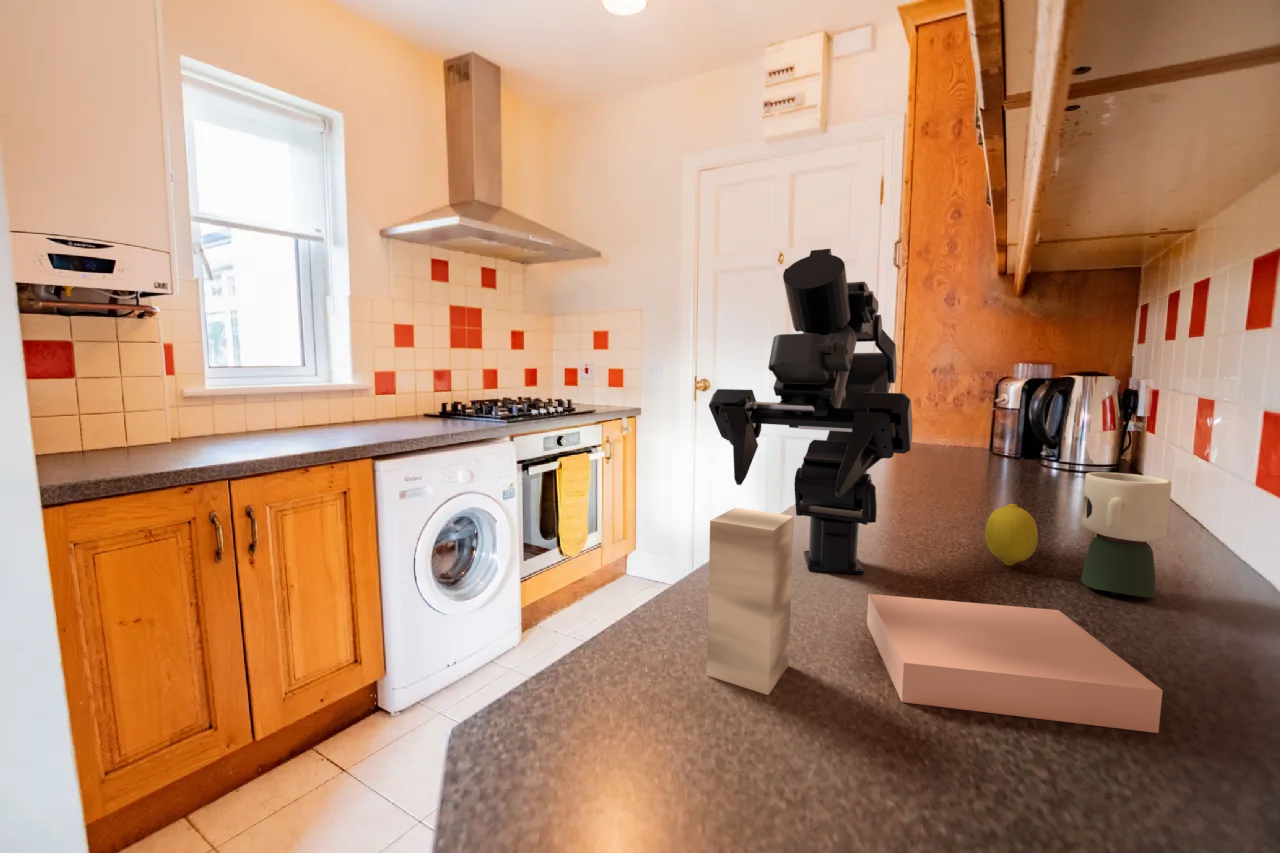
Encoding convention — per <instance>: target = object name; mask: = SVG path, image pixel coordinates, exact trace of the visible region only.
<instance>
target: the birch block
mask: <svg viewBox="0 0 1280 853" xmlns="http://www.w3.org/2000/svg"><path fill="white" fill-rule="evenodd" d="M794 518H795V516H794V515H788V514H782V513H775V512H769V511H761V510H754V509H748V508H746V509H745V508H740V507H733V508H731V509H729V510H727V511H726V512H724V513H722V514H720V515H718V516H716V517H715V518H712V519H710V520H709V550H708V551H709V554H708V555H709V556H708V558H709V560H708V561H709V562H708V599H707V600H708V601H707V602H708V604H707V606H708V607H707V608H708V610H707V611H708V612H707V651H706V652H707V653H706V654H707V655H706V659H707V660H706V676H707V677H711V678H714V679H717V680H720V681H723V682H725V683H729V684H733V685H736V686H738V687H742V688H745V689H748V690H751V691H754V692H757V693H761V694H763V695H766V696H767V695H768V696H769V695H770V693H771V692H772V691H773V689H774V687H775V686H776V685H777V683H778V681H779V680H780V679H781V678H782V676H783V674H784V673H785V672H786V670H787V668H788V667H789V663H790V662H789V661H790V660H789V658H790V637H791V636H790V635H791V634H790V632H791V631H790V630H791V629H790V628H791V605H792V604H791V602H792V580H793V579H792V577H793V576H792V574H793V548H794V547H793V545H794V544H793V542H794V540H793V539H794V521H795V520H794Z"/></svg>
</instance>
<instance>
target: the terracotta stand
mask: <svg viewBox="0 0 1280 853" xmlns="http://www.w3.org/2000/svg"><path fill="white" fill-rule="evenodd" d="M867 596H868V597H867V618H866V619H867V620H866V626H867V628H868V630H869V632H870V635H871V637H872V639H873V641H874V643H875V646H876V647H877V650H878V653H879V655H880V657H881V659H882V661H883V664H884V666H885V668H886V671H887V673H888V675H889V678H890V680H891V682H892V683H893V686H894V688H895V690H896V692H897V695H898V697H899V699H900V701H901V703H907V704H915V705H924V706H931V707H940V708H949V709H956V710H966V711H972V712H981V713H990V714H996V715H1007V716H1012V717H1013V716H1016V717H1022V718H1029V719H1030V718H1031V719H1032V718H1033V719H1039V720H1046V721H1047V720H1048V721H1054V722H1055V721H1056V722H1065V723H1071V724H1072V723H1074V724H1081V725H1090V726H1098V727H1105V728H1115V729H1123V730H1130V731H1138V732H1139V731H1140V732H1148V733H1156V734H1159V732H1160V731H1159V730H1160V718H1161V708H1162V701H1163V700H1162V699H1163V691H1164V690H1163V689H1161V687H1159V686H1158V685H1156V684H1155V683H1153V682H1152V681H1151V680H1150V679H1148V678H1147V677H1146V676H1145V675H1143V674H1142V673H1141V672H1139V671H1138V670H1137V669H1135V667H1133V666H1131V665H1130V664H1129V663H1128V662H1127V661H1125V660H1124V659H1122V657H1120V656H1119V655H1117V654H1116V653H1115V652H1113V651H1112V650H1111V649H1110V648H1108V647H1107V646H1106V645H1104V644H1103V643H1102V642H1101V641H1099V640H1098V639H1096V638H1095V637H1094V636H1093V635H1092V634H1091V633H1089V632H1087V631H1086V630H1085V629H1083V627H1081V626H1080V625H1078V624H1077V623H1076V622H1074V621H1073V620H1072V619H1071V618H1070V617H1068V616H1067V615H1065V614H1064V613H1063V612H1061V610H1059V609H1049V608H1038V607H1037V608H1036V607H1027V606H1025V607H1024V606H1015V605H1014V606H1013V605H1002V604H992V603H977V602H966V601H955V600H943V599H931V598H919V597H918V598H917V597H908V596H907V597H906V596H896V595H886V594H885V595H884V594H873V593H868V595H867Z"/></svg>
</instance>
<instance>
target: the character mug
mask: <svg viewBox="0 0 1280 853" xmlns="http://www.w3.org/2000/svg"><path fill="white" fill-rule="evenodd" d="M1083 490H1084V491H1083V503H1082V510H1081V511H1082V512H1081V525H1082V527H1083V528H1084V529H1085V530H1088V531H1090V532H1092V533H1094V537H1093V538H1092V539H1091V541H1090V543H1089V545H1088V550H1087V552H1086V553H1087V554H1086V556H1085V560H1084V563H1083V564H1084V565H1083V568H1082V573H1081V578H1080V581H1081V582H1082V584H1083V585H1084V586H1087V587H1089V588H1091V589H1094V590H1097V591H1098V590H1099V591H1105V592H1110V595H1111V596H1118V594H1123V595H1128V596H1132V597H1133V596H1134V597H1141V598H1153V597H1154V596H1155V595H1156V591H1157V589H1156V588H1157V587H1156V570H1155V560H1154V558H1155V556H1154V551H1153V548H1152V547H1151V545H1150V544H1149V543H1151V542H1152V543H1153V542H1160V541H1165V540H1166V538H1167V534H1168V523H1169V513H1170V504H1171V496H1172V495H1171V494H1172V493H1171V492H1172V482H1171V481H1170V480H1167V479H1165V478H1161V477H1160V478H1159V477H1156V476H1155V477H1154V476H1150V475H1144V474H1143V475H1141V474H1136V473H1135V474H1133V473H1121V472H1105V471H1104V472H1100V471H1099V472H1097V471H1095V472H1087V473H1085V477H1084V488H1083ZM1148 542H1149V543H1148Z"/></svg>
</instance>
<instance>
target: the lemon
mask: <svg viewBox="0 0 1280 853" xmlns="http://www.w3.org/2000/svg"><path fill="white" fill-rule="evenodd" d="M984 538H985V539H984V540H985V543H986V545H987V548H988V549H989V551H990V552H991V553H992V554H993V556H995V557H996V558H998V559H1000V560H1001V561H1002V562H1003V563H1004V564H1005V565H1006V566H1008V567H1010V566H1013V565H1015V564H1016V563H1020V562H1023V561H1025V560H1027V559H1029V558H1030V557H1031V556H1032V555H1033V554H1034V553H1035V551H1036V549H1037V546H1038V543H1039V534H1038V527H1037V524H1036V521H1035V519H1034V517H1033V516H1032V515H1031V514H1030V513H1029V512H1028V511H1027V510H1025V509H1024V508H1021V507H1020V506H1018V504H1016V503H1009V504H1008V505H1006V506H1004V505H1003V506H1002V507H1001V506H1000V507H999V508H997V509H994V511H993V512H992V513H991V514H990V515H989V517H988V519H987V521H986V526H985V529H984Z"/></svg>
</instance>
